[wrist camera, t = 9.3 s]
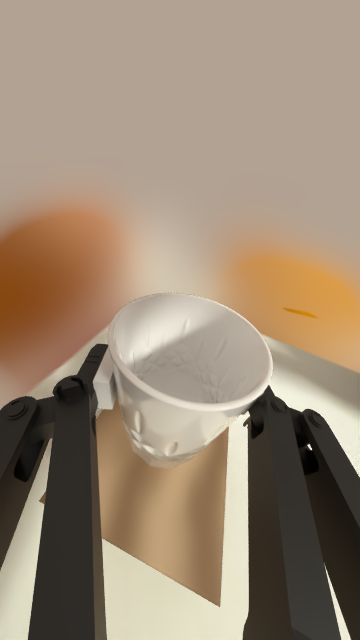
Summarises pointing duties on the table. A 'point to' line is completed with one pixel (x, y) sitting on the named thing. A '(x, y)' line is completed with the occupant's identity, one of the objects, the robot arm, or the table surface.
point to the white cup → (183, 373)
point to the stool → (164, 507)
